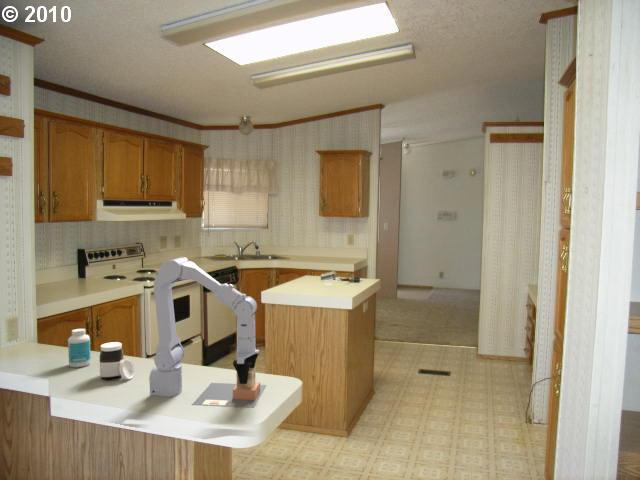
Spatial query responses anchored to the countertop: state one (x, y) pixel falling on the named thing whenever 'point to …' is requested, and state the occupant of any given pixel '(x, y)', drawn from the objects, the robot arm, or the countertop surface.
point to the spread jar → (114, 363)
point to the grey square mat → (224, 396)
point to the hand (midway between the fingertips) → (246, 378)
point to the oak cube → (250, 380)
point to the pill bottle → (79, 348)
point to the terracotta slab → (246, 392)
